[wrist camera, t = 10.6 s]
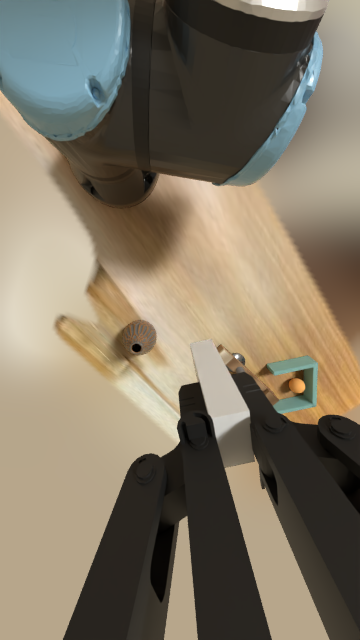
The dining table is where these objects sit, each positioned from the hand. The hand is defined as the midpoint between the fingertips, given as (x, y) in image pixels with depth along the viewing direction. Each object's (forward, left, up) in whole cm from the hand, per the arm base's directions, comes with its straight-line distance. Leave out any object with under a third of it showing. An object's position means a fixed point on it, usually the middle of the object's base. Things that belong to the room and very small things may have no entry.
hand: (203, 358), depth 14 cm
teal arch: (+30, +23, -30) cm, 49 cm away
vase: (+8, -10, -31) cm, 33 cm away
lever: (+23, +12, -30) cm, 40 cm away
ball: (+30, +25, -29) cm, 48 cm away
